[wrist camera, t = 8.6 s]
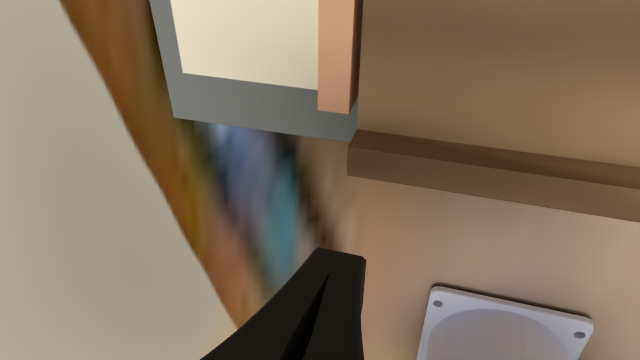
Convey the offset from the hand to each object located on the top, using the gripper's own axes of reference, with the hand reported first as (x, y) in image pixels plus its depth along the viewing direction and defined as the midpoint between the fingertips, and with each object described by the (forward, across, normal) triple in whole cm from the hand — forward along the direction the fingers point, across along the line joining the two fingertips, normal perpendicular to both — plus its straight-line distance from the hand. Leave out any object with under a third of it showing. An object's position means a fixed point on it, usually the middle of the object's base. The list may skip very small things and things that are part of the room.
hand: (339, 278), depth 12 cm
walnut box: (+9, -4, -5) cm, 11 cm away
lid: (+9, +5, -5) cm, 12 cm away
